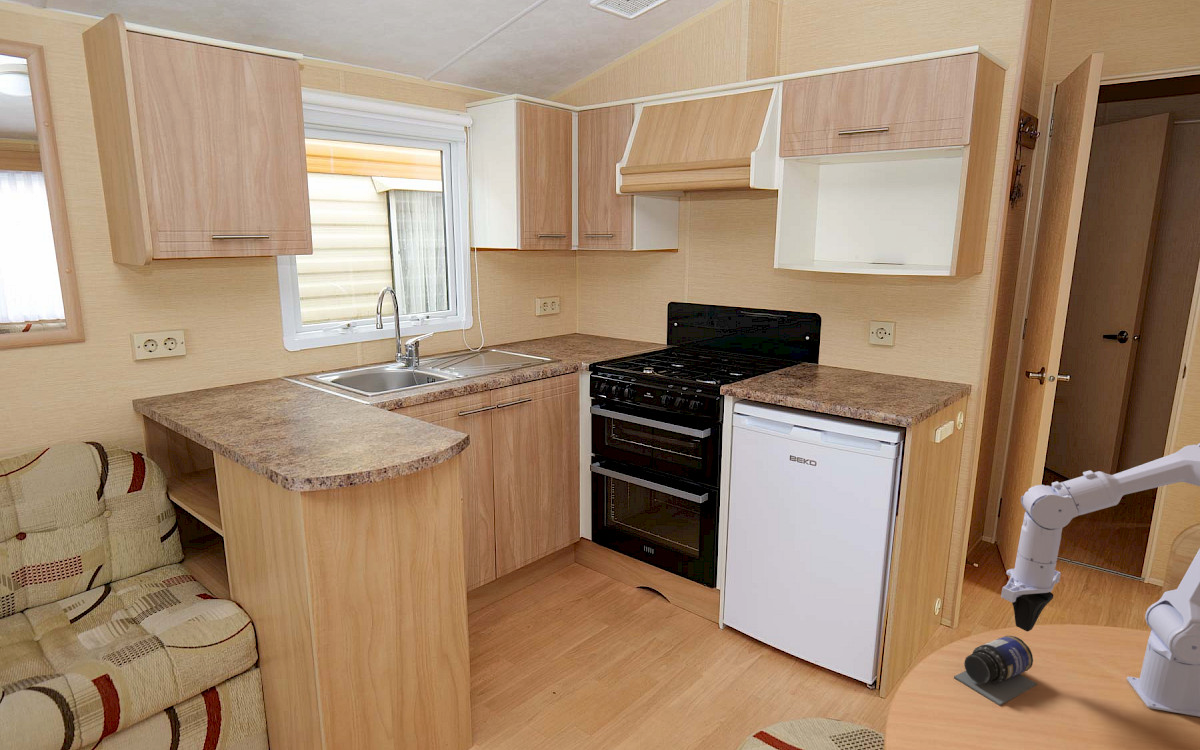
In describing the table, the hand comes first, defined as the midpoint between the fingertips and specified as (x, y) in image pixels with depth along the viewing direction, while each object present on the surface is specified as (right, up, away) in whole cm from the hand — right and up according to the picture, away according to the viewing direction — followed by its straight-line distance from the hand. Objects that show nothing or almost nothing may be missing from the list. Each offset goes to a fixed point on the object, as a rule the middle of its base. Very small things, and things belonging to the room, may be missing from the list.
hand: (1023, 627), depth 121 cm
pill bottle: (0, -5, +1) cm, 5 cm away
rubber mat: (-6, -9, -1) cm, 10 cm away
